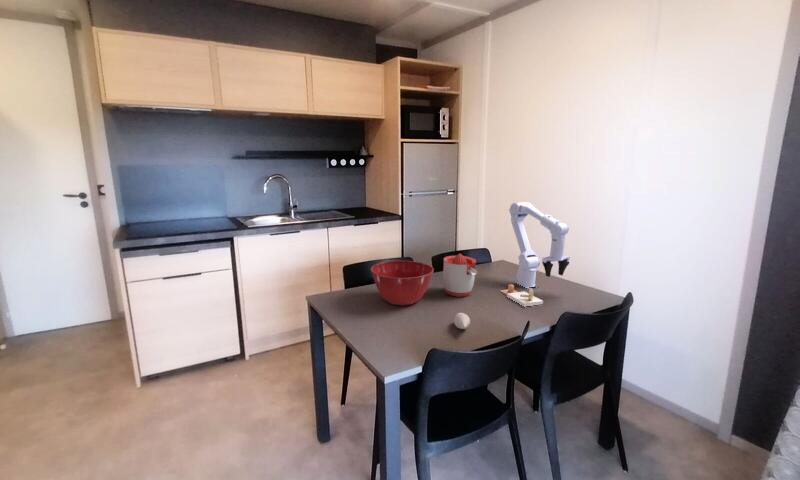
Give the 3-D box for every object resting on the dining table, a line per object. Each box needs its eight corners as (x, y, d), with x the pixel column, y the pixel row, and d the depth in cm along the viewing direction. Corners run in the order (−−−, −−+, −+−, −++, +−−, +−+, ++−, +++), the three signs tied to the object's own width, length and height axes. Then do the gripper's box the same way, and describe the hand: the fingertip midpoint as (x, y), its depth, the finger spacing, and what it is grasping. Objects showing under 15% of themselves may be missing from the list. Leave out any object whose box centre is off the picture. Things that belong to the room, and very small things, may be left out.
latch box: (507, 297, 184) (507, 293, 184) (524, 295, 188) (524, 291, 187) (524, 307, 172) (524, 303, 172) (542, 305, 176) (543, 300, 175)
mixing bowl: (357, 299, 177) (357, 267, 174) (400, 285, 198) (400, 256, 195) (403, 318, 159) (404, 282, 155) (444, 300, 179) (446, 268, 176)
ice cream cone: (463, 338, 141) (458, 327, 156) (476, 328, 141) (470, 318, 156) (453, 325, 141) (449, 315, 156) (466, 315, 141) (461, 306, 156)
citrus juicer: (462, 302, 177) (465, 260, 173) (435, 292, 190) (436, 252, 185) (483, 294, 187) (486, 255, 183) (456, 285, 200) (458, 248, 195)
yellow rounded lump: (520, 301, 174) (521, 291, 173) (519, 297, 179) (520, 287, 178) (533, 302, 173) (534, 292, 172) (531, 298, 178) (532, 288, 177)
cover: (500, 292, 192) (500, 283, 191) (511, 291, 194) (512, 282, 193) (508, 297, 185) (509, 288, 184) (520, 295, 188) (521, 286, 187)
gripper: (550, 251, 178) (547, 279, 181) (575, 249, 182) (572, 276, 185) (540, 247, 184) (537, 274, 187) (564, 245, 189) (561, 272, 192)
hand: (554, 275), depth 187 cm, fingers open, 7 cm apart
